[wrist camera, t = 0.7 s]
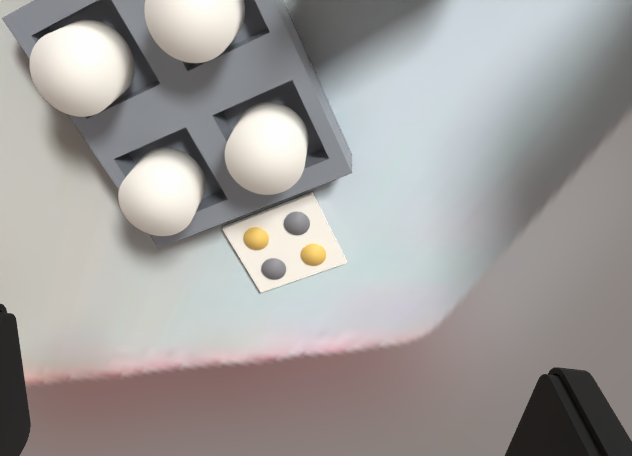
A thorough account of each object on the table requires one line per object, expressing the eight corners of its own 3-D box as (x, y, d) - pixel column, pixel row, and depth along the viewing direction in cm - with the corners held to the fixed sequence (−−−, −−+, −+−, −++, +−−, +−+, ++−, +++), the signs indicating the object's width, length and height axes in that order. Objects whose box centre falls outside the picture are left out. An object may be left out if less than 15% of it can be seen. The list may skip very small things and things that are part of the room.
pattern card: (312, 191, 38) (312, 195, 38) (346, 259, 41) (346, 264, 41) (223, 226, 40) (221, 230, 40) (261, 289, 43) (260, 293, 42)
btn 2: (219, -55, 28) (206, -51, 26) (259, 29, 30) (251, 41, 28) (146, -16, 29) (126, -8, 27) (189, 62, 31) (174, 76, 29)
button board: (236, -105, 30) (225, -105, 27) (351, 154, 37) (352, 173, 34) (28, 9, 33) (1, 18, 31) (170, 226, 40) (158, 248, 38)
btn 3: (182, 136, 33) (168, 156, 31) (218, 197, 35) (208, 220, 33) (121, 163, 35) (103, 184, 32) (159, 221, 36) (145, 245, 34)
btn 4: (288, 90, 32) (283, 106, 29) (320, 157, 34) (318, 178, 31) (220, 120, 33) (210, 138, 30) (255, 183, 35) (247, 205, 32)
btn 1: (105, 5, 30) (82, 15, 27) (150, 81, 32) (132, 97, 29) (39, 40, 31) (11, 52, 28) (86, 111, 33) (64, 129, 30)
